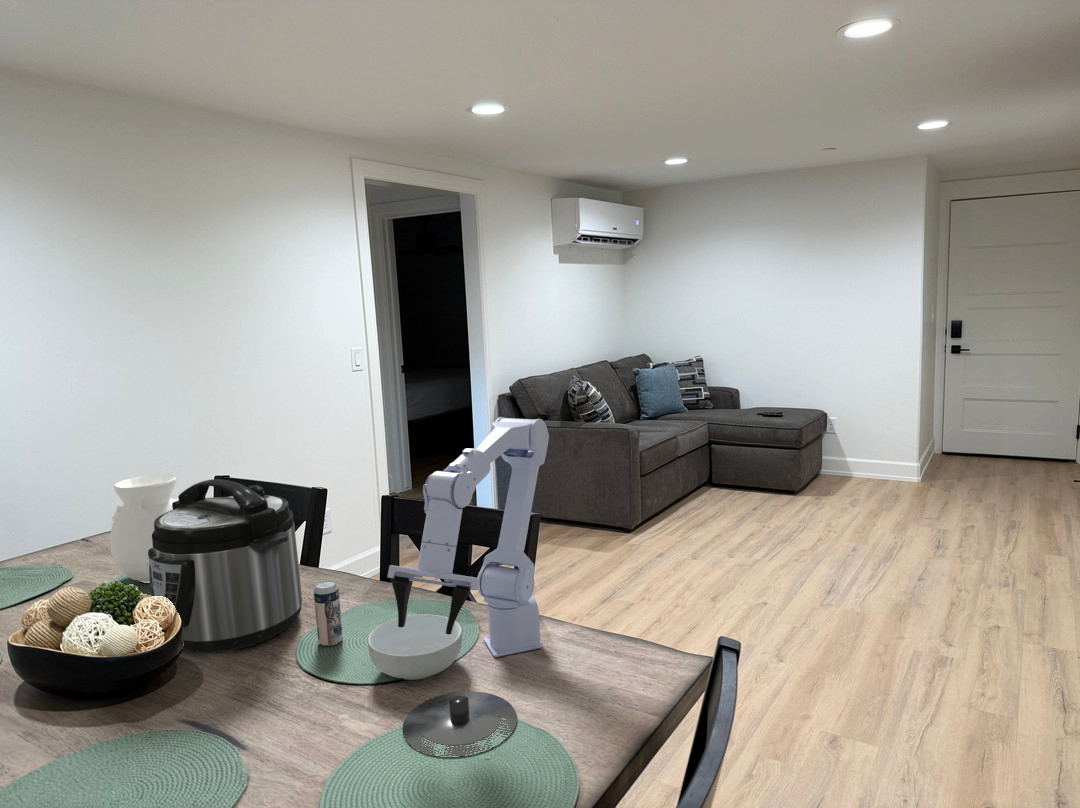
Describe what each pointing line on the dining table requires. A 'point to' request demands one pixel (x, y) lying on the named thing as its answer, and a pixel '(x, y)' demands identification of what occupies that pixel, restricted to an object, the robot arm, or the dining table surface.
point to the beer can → (328, 613)
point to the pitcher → (138, 521)
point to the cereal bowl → (414, 646)
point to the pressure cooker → (227, 565)
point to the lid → (458, 722)
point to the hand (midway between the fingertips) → (424, 630)
